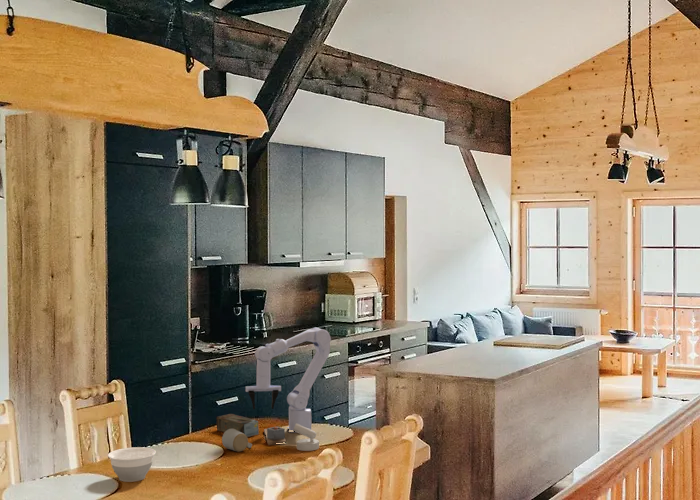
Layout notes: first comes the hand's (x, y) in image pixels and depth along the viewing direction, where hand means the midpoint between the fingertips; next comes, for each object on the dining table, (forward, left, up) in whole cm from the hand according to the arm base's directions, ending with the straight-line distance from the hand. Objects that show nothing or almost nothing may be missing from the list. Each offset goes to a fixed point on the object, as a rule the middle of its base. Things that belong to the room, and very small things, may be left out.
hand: (263, 408), depth 347 cm
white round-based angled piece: (-14, +26, -11) cm, 32 cm away
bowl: (+49, +53, -11) cm, 73 cm away
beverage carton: (+10, -5, -11) cm, 16 cm away
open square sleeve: (-4, +14, -9) cm, 17 cm away
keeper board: (-4, +8, -10) cm, 14 cm away
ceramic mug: (+11, +23, -11) cm, 27 cm away
